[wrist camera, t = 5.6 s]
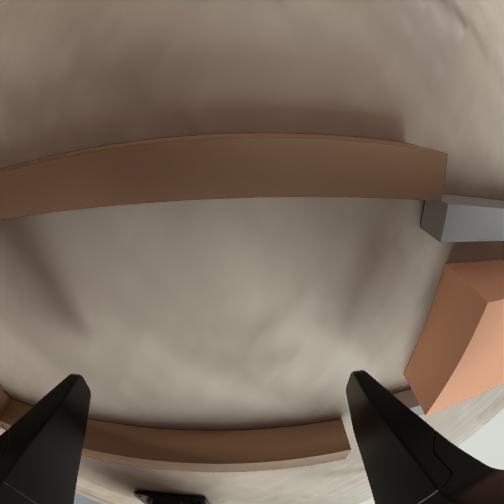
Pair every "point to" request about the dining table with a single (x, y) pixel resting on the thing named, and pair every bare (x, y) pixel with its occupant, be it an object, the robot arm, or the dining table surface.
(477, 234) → the grey bay
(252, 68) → the dining table surface
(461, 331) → the terracotta block
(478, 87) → the dining table surface
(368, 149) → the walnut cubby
